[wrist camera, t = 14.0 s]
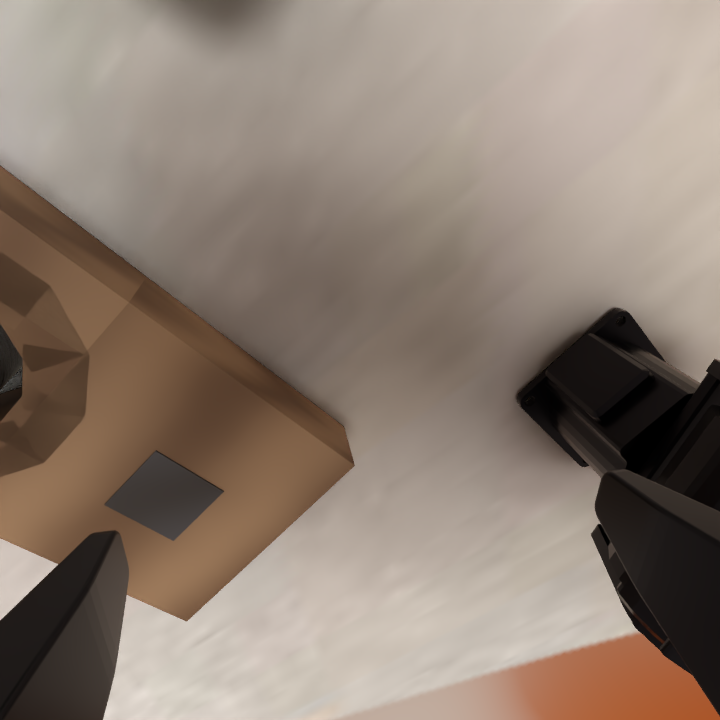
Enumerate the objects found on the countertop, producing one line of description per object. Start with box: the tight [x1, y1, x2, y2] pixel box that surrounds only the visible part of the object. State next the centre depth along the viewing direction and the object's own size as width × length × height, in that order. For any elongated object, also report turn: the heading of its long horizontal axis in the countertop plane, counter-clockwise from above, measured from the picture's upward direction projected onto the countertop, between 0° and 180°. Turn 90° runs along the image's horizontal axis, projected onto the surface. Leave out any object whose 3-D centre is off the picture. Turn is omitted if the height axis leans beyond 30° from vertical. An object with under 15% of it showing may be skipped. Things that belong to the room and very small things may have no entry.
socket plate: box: [0, 166, 355, 621], centre depth 20 cm, size 19×11×3 cm, turn 45°
